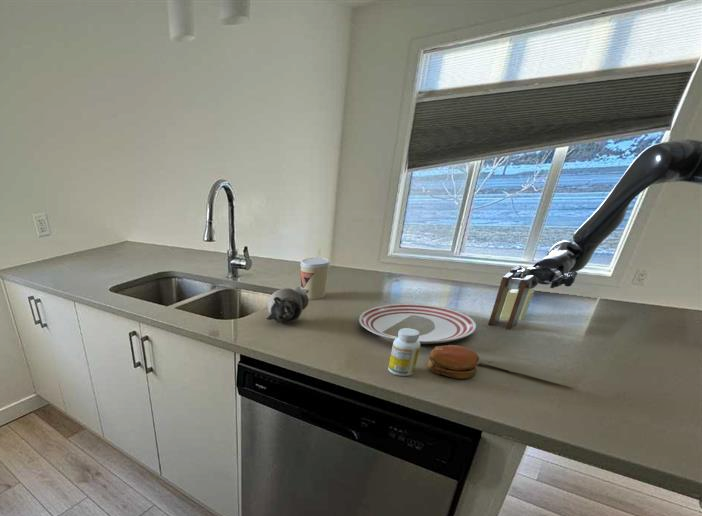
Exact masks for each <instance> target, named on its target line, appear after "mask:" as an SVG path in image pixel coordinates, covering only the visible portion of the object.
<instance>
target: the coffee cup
mask: <svg viewBox="0 0 702 516" xmlns="http://www.w3.org/2000/svg"><path fill="white" fill-rule="evenodd" d="M330 264H331V262H330V260H329V259H328V258H325V257H309V258H304V259H302V260H301V262H300V288H301V289H303V290H304V291H306V294H307V296H308V299H309V300H320V299H323V298H324V297H325V295H326V290H327V289H326V288H327V282H328V275H329V269H330Z"/></svg>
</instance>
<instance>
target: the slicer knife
mask: <svg viewBox="0 0 702 516" xmlns="http://www.w3.org/2000/svg"><path fill="white" fill-rule="evenodd" d="M531 276H533V275H531ZM526 277H527V276H526ZM524 278H525V277H524ZM524 278H523V279H524ZM521 282H522V279H519V278H511V279H510V281H509V284H508V287H507V288H509V289H510V290H512V289H519V288H520V285H521ZM531 283H532V285H531V287H530V288H529V290H533V289H534V288H536V287H537V286H538V285H539V283H538V278H537V277H536V276H533V279H532V282H531Z"/></svg>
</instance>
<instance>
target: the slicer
mask: <svg viewBox="0 0 702 516" xmlns="http://www.w3.org/2000/svg"><path fill="white" fill-rule="evenodd" d="M513 275H514V273H510V272H508V273H506V274H505V275H503V276H502V278H501V280H500V283H499V288H498V291H497V294H496V297H495V301H494V304H493V308H492V310H491V314H490V317H489V320H488V324H487V326H491V327H493V326H494V325H496V324H497V323H498V322H499V321H500V318H501V314H502V311H503V308H504V305H505V302H506V299H507V295H508V292H509V291H510V288H507V287H508V284H509V281H510V279H511V278H513ZM532 279H533V276H531V275H528V276H527V277H525V278H524V279H522V282H521V285H520V288H519V291H518V294H517V297H516V300H515V303H514V306H513V309H512V312H511V315H510V318H508V321H507V324H506V327H505V330H509V331H511V330H513V328H515V327H516V326H517V325H518V322H519V320H518V319H519V316H520V314H521V311H522V308H523V305H524V302H525V299H526V296H527V293H528V290H530V289H529V288H530V287H531V285H532V283H531V282H532Z"/></svg>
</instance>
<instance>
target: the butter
mask: <svg viewBox="0 0 702 516" xmlns="http://www.w3.org/2000/svg"><path fill="white" fill-rule="evenodd" d="M518 291H519V289H510V290H508V294H507V297H506V300H505V303H504V306H503V309H502V312H501V315H500V318H505V319H509V318H510V315H511V312H512V309H513V306H514V303H515V300H516V297H517V294H518ZM534 294H535V290H533V289H529V290H528V293H527V296H526V299H525V302H524V305H523V308H522V311H521V314H520V316H519V319H518V321H522V320H523V319H524V318H525V317H526V316H527V314H528V310H529V308H530V304H531V302H532V299H533V296H534Z"/></svg>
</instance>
